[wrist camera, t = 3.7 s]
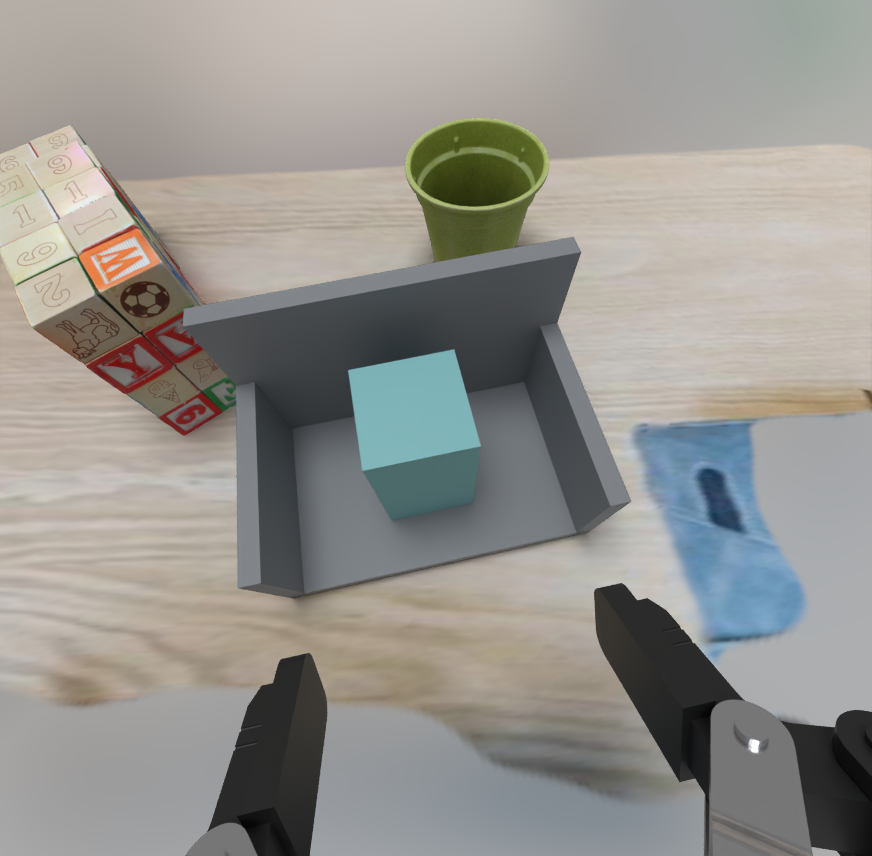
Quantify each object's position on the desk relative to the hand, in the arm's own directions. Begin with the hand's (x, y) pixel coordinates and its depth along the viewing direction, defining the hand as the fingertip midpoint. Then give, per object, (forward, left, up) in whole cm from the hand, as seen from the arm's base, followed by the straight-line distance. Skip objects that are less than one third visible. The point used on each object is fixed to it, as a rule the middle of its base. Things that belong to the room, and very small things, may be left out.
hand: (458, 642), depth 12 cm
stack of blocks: (-7, +31, -14) cm, 35 cm away
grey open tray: (+3, +9, -13) cm, 16 cm away
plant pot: (+16, +23, -13) cm, 31 cm away
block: (+3, +9, -12) cm, 15 cm away
